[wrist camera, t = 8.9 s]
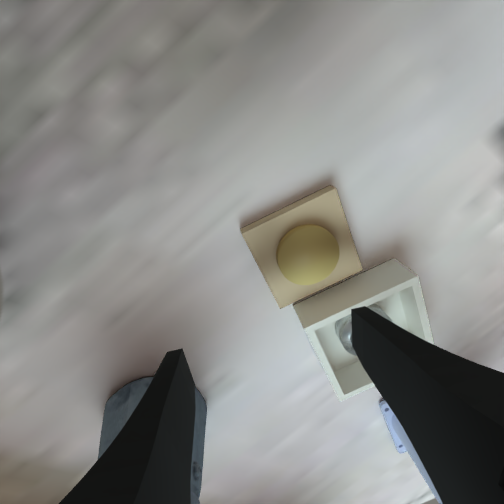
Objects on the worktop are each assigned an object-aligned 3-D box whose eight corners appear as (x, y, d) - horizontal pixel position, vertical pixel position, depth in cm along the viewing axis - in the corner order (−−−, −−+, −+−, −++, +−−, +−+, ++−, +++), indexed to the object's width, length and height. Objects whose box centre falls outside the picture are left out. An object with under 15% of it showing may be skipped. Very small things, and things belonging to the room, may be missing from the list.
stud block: (356, 264, 24) (368, 274, 22) (277, 301, 24) (282, 315, 23) (330, 185, 21) (340, 190, 19) (240, 229, 21) (242, 238, 20)
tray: (414, 335, 28) (437, 358, 25) (326, 375, 28) (339, 402, 26) (394, 258, 24) (418, 275, 21) (292, 305, 25) (303, 328, 22)
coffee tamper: (382, 295, 25) (436, 350, 19) (385, 335, 27) (435, 397, 21) (331, 310, 25) (369, 369, 19) (338, 349, 27) (374, 414, 21)
